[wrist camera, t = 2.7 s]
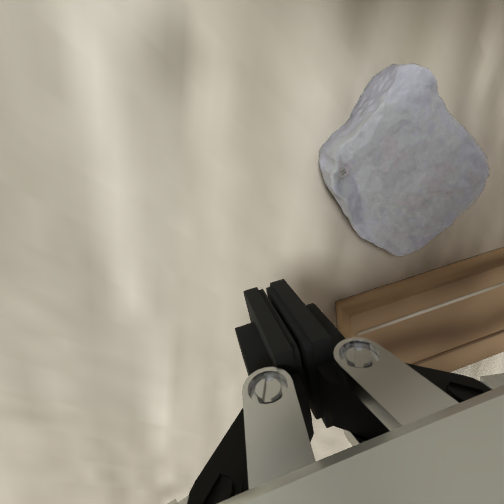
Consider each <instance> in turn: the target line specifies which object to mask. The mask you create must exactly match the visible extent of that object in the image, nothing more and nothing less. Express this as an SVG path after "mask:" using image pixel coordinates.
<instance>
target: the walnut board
mask: <svg viewBox="0 0 504 504" xmlns="http://www.w3.org/2000/svg"><path fill="white" fill-rule="evenodd" d="M335 306H336V316H337V326H338V331H339V332H340V333H341V334H342V335H343V336H344V337H345V338H346V339H348V338H353V337H361V338H366V339H370V340H372V341H374V342H376V343H378V344H379V345H381V346H382V347H383V348H385V349H386V350H387V351H389V352H390V353H392V354H393V355H394V356H396V357H397V358H398V359H400V360H401V361H403V362H404V363H408V364H413V365H418V366H422V367H427V368H432V369H436V370H441V371H446V372H452V371H454V370H457V369H459V368H462V367H465V366H467V365H470V364H472V363H475V362H477V361H480V360H483V359H485V358H488V357H490V356H493V355H496V354H498V353H501V352H503V351H504V247H502V248H499V249H496V250H493V251H490V252H487V253H484V254H481V255H478V256H475V257H472V258H468V259H465V260H462V261H459V262H456V263H453V264H450V265H447V266H444V267H441V268H438V269H435V270H431V271H428V272H425V273H422V274H419V275H416V276H413V277H410V278H407V279H404V280H401V281H398V282H395V283H391V284H388V285H385V286H382V287H379V288H376V289H373V290H370V291H367V292H364V293H361V294H358V295H354V296H351V297H348V298H345V299H342V300H339V301H336V302H335Z"/></svg>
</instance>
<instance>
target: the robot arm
mask: <svg viewBox="0 0 504 504" xmlns="http://www.w3.org/2000/svg"><path fill="white" fill-rule="evenodd" d="M266 290H267V295H268V297H267V295H266V293H265V292H264V290H263V289H261V290H258V288H257V287H256V288H252V289H249V290H246V291H244V296H245V300H246V304H247V308H248V312H249V316H250V320H251V323H250V324H246V325H243V326H240V327H237V328H235V331H236V334H237V338H238V342H239V345H240V349H241V352H242V356H243V359H244V362H245V366H246V369H247V372H248V376H249V377H248V378H247V379H246V381H245V383H244V385H243V390H242V395H243V409H242V410H241V412H240V413H239V415H238V416H237V418H236V419H235V421H234V422H233V424H232V425H231V427H230V429H229V430H228V432H227V433H226V435H225V436H224V438H223V439H222V441H221V442H220V444H219V446H218V447H217V449H216V450H215V452H214V453H213V455H212V456H211V458H210V459H209V461H208V463H207V464H206V466H205V467H204V469H203V470H202V472H201V473H200V475H199V476H198V478H197V479H196V481H195V483H194V485H193V487H192V489H191V491H190V493H189V495H188V496H187V497H186V498H184V499H183V500H181V501H180V502H178V503H177V501H176V499H174V500H173V501H171V502H170V503H168V504H504V373H501V374H495V375H488V376H481V378H480V381H478V380H476V379H474V378H471V377H467V376H464V375H459V374H455V373H450V372H446V371H441V370H436V369H432V368H427V367H422V366H418V365H413V364H408V363H404V362H403V361H401V360H400V359H398V358H397V357H396V356H394V355H393V354H392V353H390V352H389V351H387V350H386V349H385V348H383V347H382V346H381V345H379V344H378V343H376V342H374V341H372V340H370V339H366V338H361V337H353V338H348V339H346V338H345V337H344V336H343V335H342V334H341V333H340V332H339V331H338V329H337V328H336V327H335V326H334V325H333V324H332V323H331V322H330V321H329V319H328V318H327V317H326V316H325V315H324V314H323V313H322V312H321V311H320V309H319V308H318V307H317V306H316V305H315V304H313V303H311V304H308V305H305V304H304V303H303V302H302V301H301V299H300V298H299V297H298V296H297V295H296V293H295V292H294V291H293V290H292V289H291V287H290V286H289V285H288V284H287V283H286V281H285V280H284V279H282V280H279V281H275V282H272V283H270V287H268V288H266ZM310 409H311V411H312V413H313V415H314V417H315V418H316V419H319V418H322V420H323V422H324V424H325V426H326V428H329V427H331V426H335V427H338V428H341V429H343V430H344V434H345V436H346V437H347V439H348V441H349V442H350V443H351V445H352V446H353V447H350V448H348V449H346V450H343V451H341V452H338V453H336V454H333V455H331V456H329V457H326V458H324V459H321V460H319V461H317V462H316V461H315V458H314V454H313V451H312V447H311V444H310V442H311V439H312V437H313V434H314V431H313V426H312V417H311V411H310Z"/></svg>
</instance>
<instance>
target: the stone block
mask: <svg viewBox="0 0 504 504" xmlns="http://www.w3.org/2000/svg"><path fill="white" fill-rule="evenodd" d="M319 151H320V155H319V166H320V170H321V172H322V176H323V179H324V182H325V184H326V185H327V187H328V189H329V190H330V192H331V193H332V195H333V196H334V198H335V199H336V200H337V202H338V203H339V205H340V207H341V209H342V211H343V213H344V214H345V215H346V216H347V217H348V219H349V221H350V223H351V226H352V227H353V228H354V230H355V231H356V233H357V234H358V235H359V237H360V238H363V239H365V240H367V241H369V242H371V243H373V244H374V245H376V246H377V247H380V248H383V249H384V250H385V251H386V252H387V253H390V254H392V255H396V256H404V255H407V254H410V253H412V252H414V251H416V250H418V249H420V248H422V247H423V246H424V245H425V244H427V243H428V242H429V241H430V240H431V239H433V238H434V237H436V236H437V235H438V234H439V233H440V232H442V231H443V230H444V229H446V228H447V227H449V226H450V225H452V224H453V222H454V220H455V219H456V218H457V217H458V216H459V215H460V214H461V213H462V212H464V211H465V210H467V209H468V208H469V207H470V206H471V205H472V204H473V203H474V202H475V201H476V199H477V198H478V196H479V195H480V194H481V192H482V191H483V189H484V186H485V182H486V178H488V176H489V172H488V171H489V167H488V163H487V157H486V155H485V154H484V152H483V151H482V149H481V148H480V146H479V145H478V144H477V143H476V141H475V139H474V138H473V137H472V136H471V135H470V134H469V133H468V131H467V130H466V129H465V128H464V127H463V126H462V125H461V124H460V123H458V122H457V121H456V120H455V119H454V117H453V116H452V115H451V114H450V113H449V111H448V110H447V109H446V106H445V103H444V101H443V100H442V98H441V97H440V96H439V94H438V87H437V80H436V78H435V76H434V75H433V74H432V72H431V71H430V70H429V69H428V68H425V67H422V66H420V65H417V64H403V65H397V64H392V65H390V66H389V67H387V68H386V69H384V70H383V71H381V72H380V73H379V74H377V75H376V76H374V77H373V78H372V79H371V81H370V82H369V84H368V85H367V87H366V88H365V90H364V92H363V94H362V95H361V96H360V98H359V101H358V103H357V104H356V106H355V107H354V109H353V111H352V113H351V116H350V118H349V119H348V120H347V122H346V123H345V124H344V125H343V126H342V127H340V128H339V129H338V130H337V131H335V132H334V133H333V134H332V135H331V136H330V138H329V139H328V140H327V141H326V142H325V144H323V145H322V147H321V149H320V150H319Z"/></svg>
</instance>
